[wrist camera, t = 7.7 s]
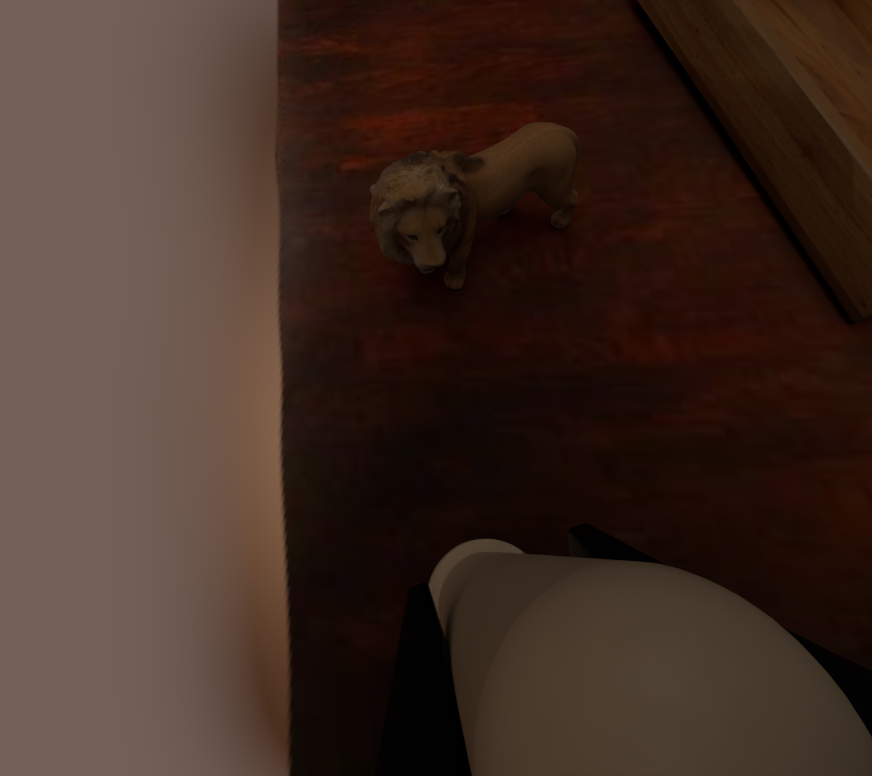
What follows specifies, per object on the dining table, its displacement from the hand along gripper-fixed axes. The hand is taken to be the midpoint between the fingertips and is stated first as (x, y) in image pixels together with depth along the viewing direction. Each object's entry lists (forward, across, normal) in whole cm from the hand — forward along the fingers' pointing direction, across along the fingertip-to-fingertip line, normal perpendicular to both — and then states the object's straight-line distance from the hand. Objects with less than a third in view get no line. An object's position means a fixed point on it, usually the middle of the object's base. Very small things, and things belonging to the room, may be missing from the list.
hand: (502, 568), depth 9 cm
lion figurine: (+20, -7, -2) cm, 22 cm away
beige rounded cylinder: (+4, 0, +6) cm, 7 cm away
